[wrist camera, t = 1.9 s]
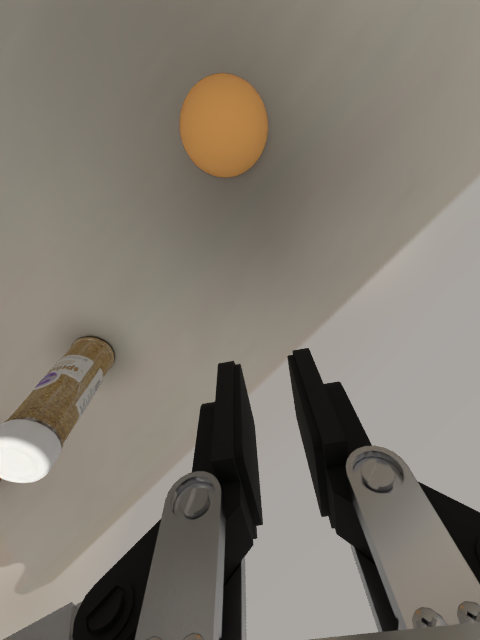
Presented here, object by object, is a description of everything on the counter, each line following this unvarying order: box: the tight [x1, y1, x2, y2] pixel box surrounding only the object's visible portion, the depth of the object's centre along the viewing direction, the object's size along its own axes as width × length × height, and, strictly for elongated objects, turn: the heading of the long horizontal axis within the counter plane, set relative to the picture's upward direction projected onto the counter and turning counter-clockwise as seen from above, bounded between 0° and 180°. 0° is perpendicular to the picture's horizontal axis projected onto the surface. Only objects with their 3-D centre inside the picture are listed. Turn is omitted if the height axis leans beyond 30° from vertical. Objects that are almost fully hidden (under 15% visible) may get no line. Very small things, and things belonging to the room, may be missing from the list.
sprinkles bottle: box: [0, 337, 114, 483], centre depth 26 cm, size 5×5×13 cm
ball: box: [180, 73, 268, 177], centre depth 21 cm, size 6×6×6 cm
